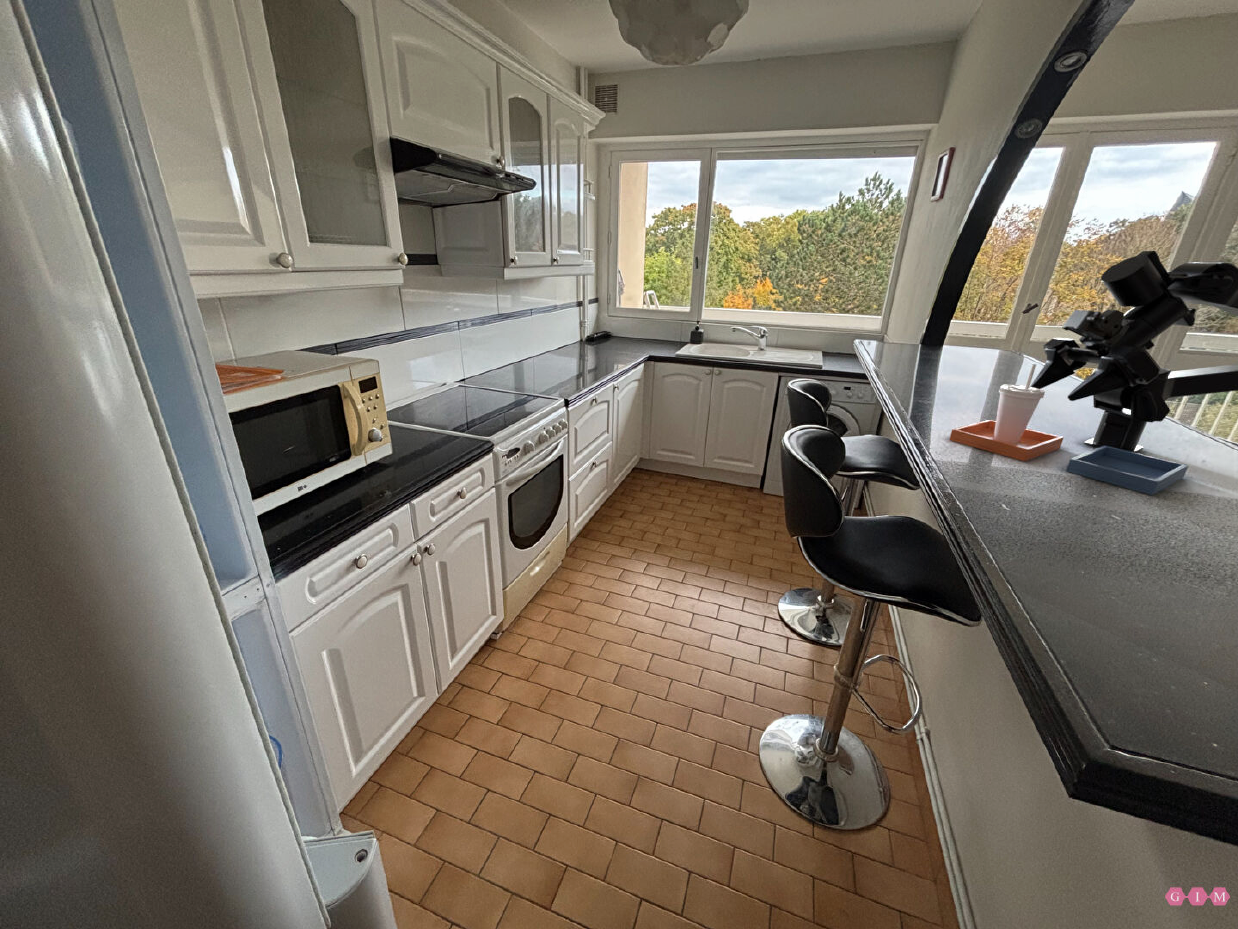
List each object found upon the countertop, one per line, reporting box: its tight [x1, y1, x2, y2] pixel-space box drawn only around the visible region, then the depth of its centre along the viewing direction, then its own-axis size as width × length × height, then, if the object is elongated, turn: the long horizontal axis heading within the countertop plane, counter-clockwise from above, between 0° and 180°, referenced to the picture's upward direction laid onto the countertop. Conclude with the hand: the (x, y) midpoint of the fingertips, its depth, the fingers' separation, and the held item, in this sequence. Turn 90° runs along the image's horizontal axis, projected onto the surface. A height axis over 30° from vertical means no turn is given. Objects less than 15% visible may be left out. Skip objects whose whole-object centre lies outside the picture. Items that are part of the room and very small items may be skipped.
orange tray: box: [948, 419, 1065, 462], centre depth 91 cm, size 13×12×2 cm
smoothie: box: [993, 363, 1046, 445], centre depth 89 cm, size 6×6×14 cm
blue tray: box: [1065, 446, 1190, 496], centre depth 79 cm, size 13×10×2 cm
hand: (1049, 393), depth 88 cm, fingers open, 9 cm apart
